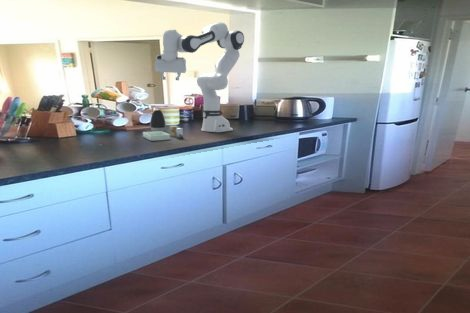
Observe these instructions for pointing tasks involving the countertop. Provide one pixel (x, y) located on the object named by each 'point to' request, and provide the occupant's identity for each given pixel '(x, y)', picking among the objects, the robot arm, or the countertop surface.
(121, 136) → the countertop surface
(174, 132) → the beech block
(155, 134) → the tray
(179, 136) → the metal cylinder
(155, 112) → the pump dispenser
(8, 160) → the countertop surface
